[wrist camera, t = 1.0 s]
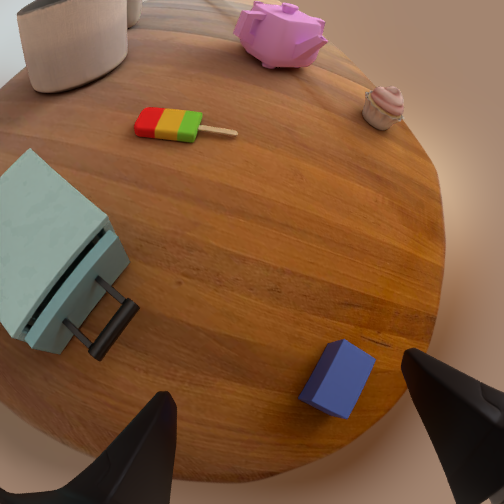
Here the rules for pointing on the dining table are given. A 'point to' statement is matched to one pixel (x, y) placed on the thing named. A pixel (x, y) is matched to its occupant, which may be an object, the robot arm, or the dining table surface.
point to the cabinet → (39, 236)
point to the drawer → (83, 300)
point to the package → (338, 379)
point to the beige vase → (133, 12)
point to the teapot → (280, 35)
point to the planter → (72, 41)
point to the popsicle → (173, 125)
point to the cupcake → (383, 107)
